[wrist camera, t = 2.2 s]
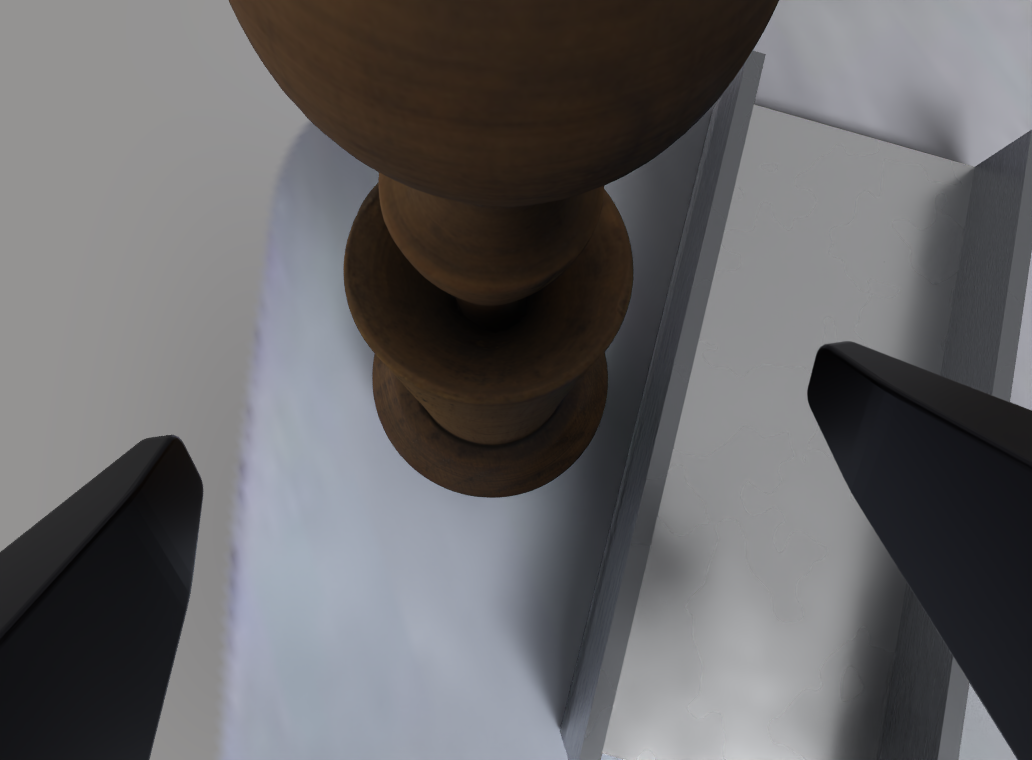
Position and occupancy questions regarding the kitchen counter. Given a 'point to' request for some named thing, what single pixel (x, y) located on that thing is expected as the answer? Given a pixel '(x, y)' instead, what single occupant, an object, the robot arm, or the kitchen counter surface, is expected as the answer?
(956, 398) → the robot arm
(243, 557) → the kitchen counter surface
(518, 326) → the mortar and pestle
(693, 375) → the floor track
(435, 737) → the kitchen counter surface
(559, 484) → the kitchen counter surface
